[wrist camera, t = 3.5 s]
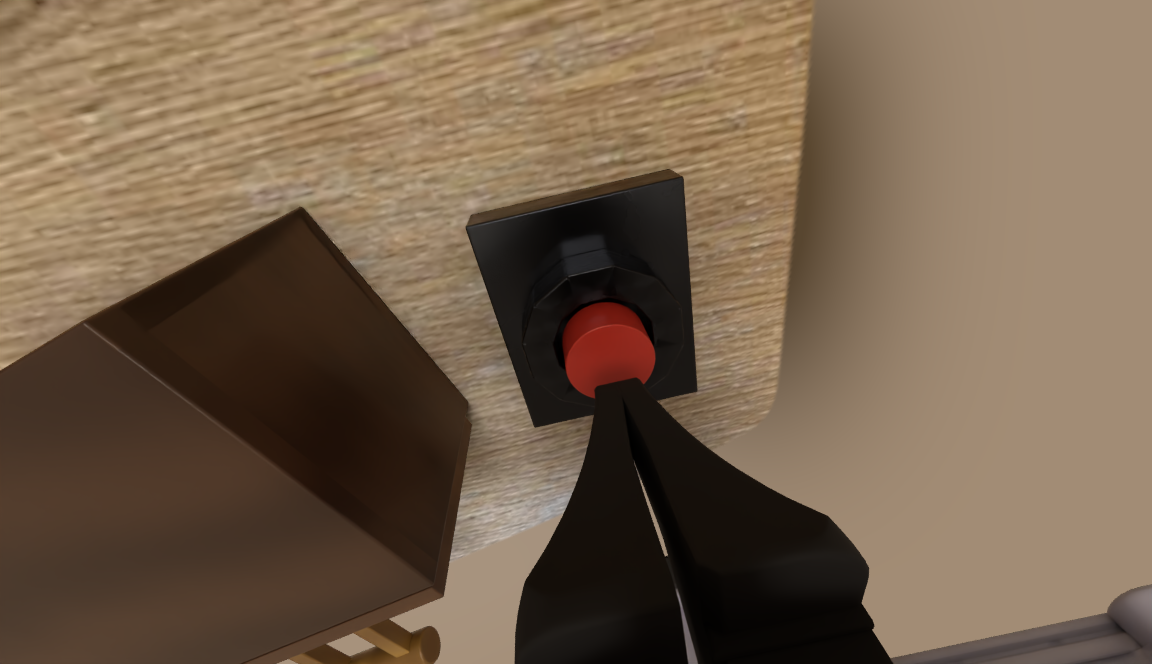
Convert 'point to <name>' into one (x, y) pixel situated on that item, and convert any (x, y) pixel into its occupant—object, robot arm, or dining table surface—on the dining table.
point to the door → (385, 612)
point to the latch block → (589, 281)
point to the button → (606, 347)
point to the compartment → (221, 463)
